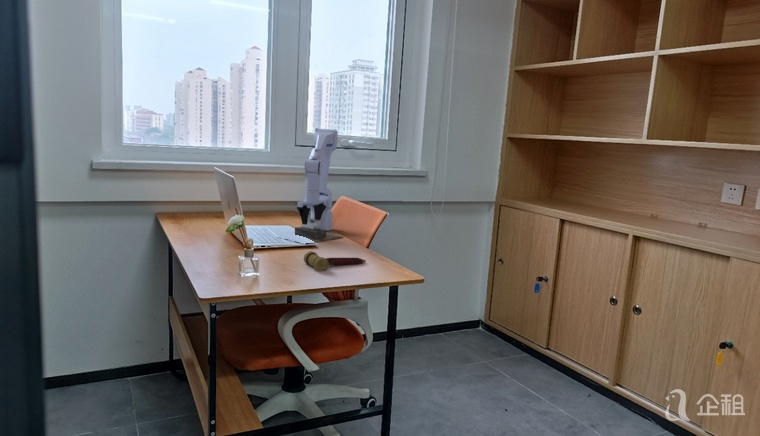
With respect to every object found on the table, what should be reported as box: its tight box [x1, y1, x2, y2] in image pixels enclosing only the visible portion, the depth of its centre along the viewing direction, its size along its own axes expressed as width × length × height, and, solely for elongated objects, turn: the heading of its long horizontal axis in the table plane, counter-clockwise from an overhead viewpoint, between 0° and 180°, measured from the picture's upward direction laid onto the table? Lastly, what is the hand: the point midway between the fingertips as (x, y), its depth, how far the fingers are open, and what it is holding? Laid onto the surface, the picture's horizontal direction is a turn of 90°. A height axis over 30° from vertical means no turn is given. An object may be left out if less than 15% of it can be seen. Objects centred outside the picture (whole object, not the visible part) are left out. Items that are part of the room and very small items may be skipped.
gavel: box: [303, 250, 367, 272], centre depth 181 cm, size 21×5×10 cm
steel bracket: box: [301, 217, 321, 231], centre depth 219 cm, size 3×8×7 cm, turn 55°
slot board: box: [294, 226, 344, 243], centre depth 220 cm, size 22×16×4 cm
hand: (311, 223), depth 219 cm, fingers open, 7 cm apart
